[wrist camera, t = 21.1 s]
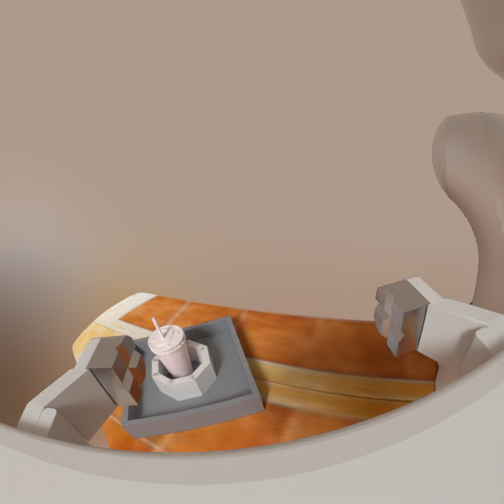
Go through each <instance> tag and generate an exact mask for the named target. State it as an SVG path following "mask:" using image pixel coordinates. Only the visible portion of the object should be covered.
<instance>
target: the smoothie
mask: <svg viewBox="0 0 504 504" xmlns="http://www.w3.org/2000/svg"><path fill="white" fill-rule="evenodd" d="M152 320H153V322H154V325H155V327H156V329H157V330H155V331H154V332H153V333H152V334H151V335H150V337H149V339H148V345H149V347H150V350H151V351H152V352H153V353H155V354H156V355H157V356H158V358H159V359H160V360H161V362H162V363H163V364H164V366H165V367H166V368H167V369H168V371H169V372H170V373H171V374H172V376H173V377H174V378H175V379H178V378H182V377H186V376H190V375H192V374H193V373H194V371H193V368H192V365H191V361H190V357H189V354H188V350H187V346H186V343H185V339H186V335H185V333H184V332H183V329H182V328H181V327H179V326H176V325H166V326H163V327H159V325H158V323H157V321H156V318H155V317H153V318H152Z"/></svg>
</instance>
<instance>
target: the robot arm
mask: <svg viewBox="0 0 504 504" xmlns="http://www.w3.org/2000/svg"><path fill="white" fill-rule="evenodd" d="M460 1H461V3H462V6H463V9H464V11H465V14H466V17H467V20H468V23H469V26H470V29H471V32H472V36H473V39H474V43H475V47H476V50H477V52H478V54H479V56H480V57H481V59H482V60H483V62H484V63H485V64H486V65H487V66H488V68H489V69H491V70H492V71H493V72H494V73H495V74H497V75H498V76H500V77H501V78H502V79H504V0H460ZM432 161H433V167H434V171H435V174H436V177H437V179H438V182H439V184H440V185H441V187H442V189H443V190H444V192H445V193H446V194H447V195H448V197H449V198H450V199H451V200H452V201H453V202H454V203H455V204H456V205H457V206H458V207H459V208H460V210H461V211H462V212H463V213H464V215H465V216H466V218H467V219H468V221H469V223H470V225H471V227H472V230H473V232H474V234H475V238H476V241H477V246H478V251H479V266H478V275H477V282H476V288H475V292H474V297H473V300H472V302H471V303H470V305H469V304H466V303H462V302H459V301H456V300H453V299H449V298H445V299H443V298H442V297H441V296H440V295H439V294H438V293H436V292H435V291H434V290H433V289H432V288H431V287H430V286H429V285H428V284H426V283H425V282H424V281H423V280H422V279H421V278H420V277H418V276H413V277H410V278H407V279H404V280H402V281H399V282H395V283H392V284H389V285H385V286H382V287H378V289H377V291H376V300H377V301H378V302H379V304H378V305H377V307H376V309H375V316H374V319H375V324H376V327H377V330H378V332H379V333H380V335H381V336H383V337H385V338H388V340H387V345H388V347H389V348H390V350H391V351H392V353H393V354H394V356H395V357H398V356H401V355H404V354H407V353H409V352H412V351H415V350H417V351H418V352H420V353H422V354H424V355H426V356H428V357H429V358H431V359H433V360H435V361H437V363H438V373H437V376H436V380H435V389H436V391H434V392H432V393H430V394H428V395H426V396H424V397H422V398H420V399H418V400H415V401H413V402H411V403H409V404H406V405H404V406H402V407H399V408H397V409H394V410H392V411H389V412H387V413H384V414H382V415H379V416H376V417H374V418H371V419H368V420H365V421H362V422H359V423H356V424H353V425H350V426H347V427H343V428H340V429H337V430H333V431H329V432H326V433H322V434H318V435H314V436H310V437H306V438H301V439H297V440H292V441H287V442H282V443H276V444H270V445H264V446H257V447H250V448H242V449H233V450H223V451H209V452H182V453H166V452H140V451H126V450H116V449H107V448H100V447H94V446H92V445H91V444H90V443H89V440H90V439H91V438H92V437H93V436H94V434H95V433H96V432H97V430H98V429H99V428H100V427H101V426H102V425H103V423H104V422H105V421H106V420H107V419H108V417H109V416H110V415H111V414H112V413H113V411H114V410H115V409H116V408H117V406H124V405H138V404H139V400H140V396H141V392H142V389H141V388H140V386H139V385H140V384H141V383H142V382H143V381H144V380H145V376H146V367H145V363H144V360H143V358H142V356H141V354H140V353H138V352H137V351H135V350H134V348H135V343H134V341H133V340H132V338H131V337H130V336H128V335H125V336H112V337H100V338H92V339H90V340H89V341H88V343H87V345H86V347H85V349H84V351H83V353H82V355H81V356H80V358H79V360H78V362H77V364H76V366H75V368H74V369H70V370H69V371H68V372H67V373H66V374H64V375H63V376H61V377H60V378H59V379H58V380H57V381H55V382H54V383H53V384H51V385H50V386H49V387H48V388H46V389H45V390H44V391H43V392H41V393H40V394H39V395H38V396H36V397H35V398H34V399H33V400H31V401H30V402H29V403H28V404H27V406H26V408H25V410H24V412H23V414H22V417H21V419H20V421H19V423H18V426H17V427H16V428H14V427H11V426H8V425H5V424H3V423H0V504H504V115H499V114H493V113H485V112H475V113H465V114H459V115H453V116H447V117H446V118H445V119H444V120H443V121H442V122H441V124H440V125H439V127H438V129H437V131H436V133H435V136H434V140H433V146H432Z"/></svg>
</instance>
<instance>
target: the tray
mask: <svg viewBox="0 0 504 504" xmlns="http://www.w3.org/2000/svg"><path fill="white" fill-rule="evenodd" d="M182 329H183V332H184V333H185V335H186V339H185V343H186V346H187V350H188V354H189V357H190V361H191V365H192V368H193V371H194V373H193V374H192V375H190V376H186V377H182V378H178V379H175V378H174V377H173V376H172V374H171V373H170V372H169V371H168V369H167V368H166V367H165V366H164V364H163V363H162V362H161V360H160V359H159V358H158V356H157V355H156V354H155V353H153V352H152V351H151V350H150V347H149V345H148V339H149V337H146V338H142V339H137V340H133V341H134V343H135V348H134V350H135V351H137V352H138V353H140V354H141V356H142V358H143V360H144V363H145V367H146V376H145V380H144V381H143V382H142V383H141V384H140V385H139V386H140V388H141V389H142V392H141V396H140V400H139V404H138V405H124V406H123V416H122V427H123V428H124V429H125V430H126V431H127V432H128V433H129V434H130V435H131V436H132V437H133V438H142V437H150V436H157V435H163V434H169V433H175V432H180V431H186V430H191V429H195V428H200V427H205V426H209V425H213V424H217V423H221V422H225V421H229V420H233V419H236V418H240V417H244V416H247V415H250V414H254V413H257V412H260V411H263V410H264V406H263V402H262V399H261V395H260V393H259V390H258V388H257V385H256V383H255V380H254V378H253V375H252V373H251V370H250V367H249V365H248V362H247V360H246V357H245V354H244V352H243V349H242V346H241V344H240V341H239V338H238V336H237V333H236V330H235V328H234V325H233V322H232V319H231V317H230V316H226V317H223V318H219V319H216V320H212V321H208V322H205V323H201V324H197V325H194V326H190V327H186V328H182Z"/></svg>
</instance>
